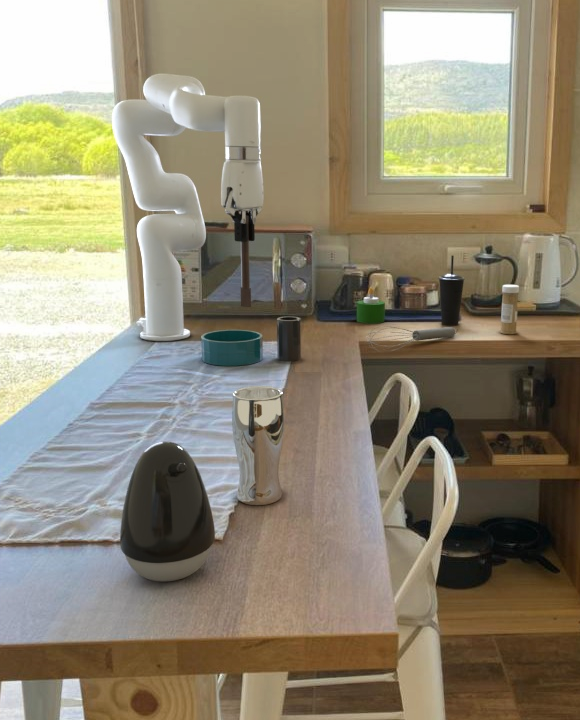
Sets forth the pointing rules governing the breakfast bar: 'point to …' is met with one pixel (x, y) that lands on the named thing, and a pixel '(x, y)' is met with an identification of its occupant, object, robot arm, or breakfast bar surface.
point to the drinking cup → (450, 296)
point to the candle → (370, 309)
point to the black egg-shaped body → (166, 515)
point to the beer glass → (258, 442)
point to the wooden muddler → (245, 272)
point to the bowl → (232, 347)
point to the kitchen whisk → (420, 335)
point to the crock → (289, 338)
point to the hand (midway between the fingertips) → (244, 240)
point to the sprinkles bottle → (509, 309)
